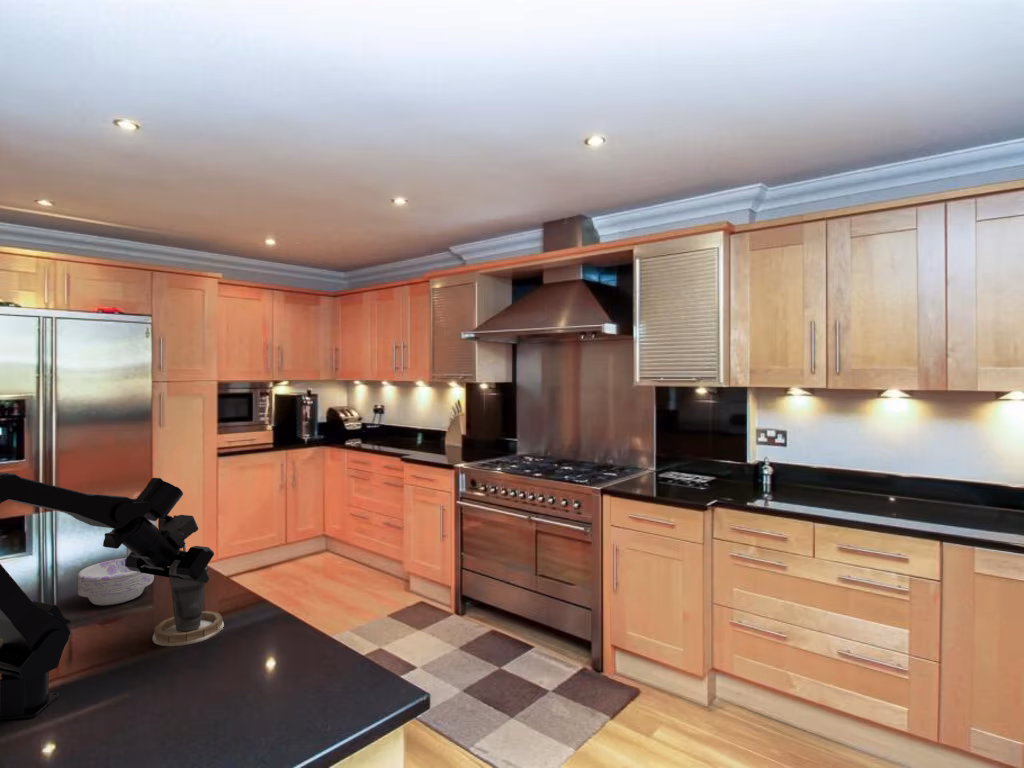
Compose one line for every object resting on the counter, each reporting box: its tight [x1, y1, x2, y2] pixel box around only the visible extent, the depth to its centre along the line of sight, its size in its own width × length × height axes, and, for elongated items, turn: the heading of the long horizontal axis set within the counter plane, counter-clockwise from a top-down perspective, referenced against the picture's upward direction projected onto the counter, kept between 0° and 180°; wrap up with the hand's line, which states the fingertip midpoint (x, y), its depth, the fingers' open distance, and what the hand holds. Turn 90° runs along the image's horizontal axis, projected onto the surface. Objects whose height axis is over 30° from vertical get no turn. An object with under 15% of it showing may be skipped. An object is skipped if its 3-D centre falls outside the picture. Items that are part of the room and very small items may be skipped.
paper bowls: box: [77, 557, 155, 606], centre depth 138 cm, size 15×15×8 cm
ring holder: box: [152, 610, 225, 647], centre depth 119 cm, size 13×13×2 cm
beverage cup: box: [168, 539, 209, 631], centre depth 119 cm, size 7×7×20 cm
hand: (194, 579), depth 120 cm, fingers closed on beverage cup, 7 cm apart
